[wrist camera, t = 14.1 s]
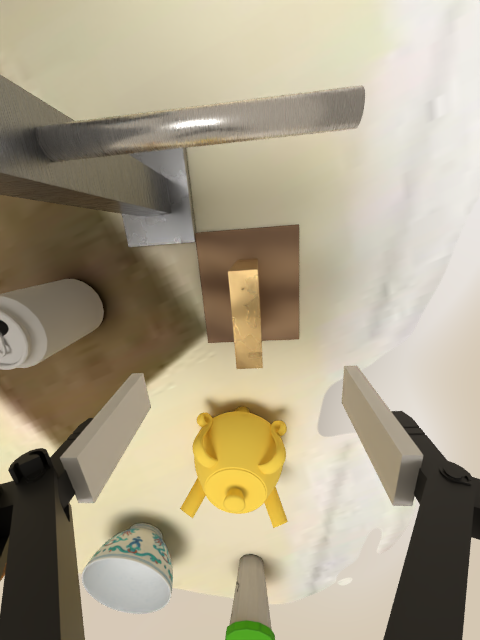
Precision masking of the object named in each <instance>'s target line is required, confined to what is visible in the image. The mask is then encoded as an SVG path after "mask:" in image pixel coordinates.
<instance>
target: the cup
mask: <svg viewBox="0 0 480 640" xmlns="http://www.w3.org/2000/svg"><path fill="white" fill-rule="evenodd" d="M225 640H275V635H274V633H273V632H272V630H271V622H270V614H269V606H268V597H267V589H266V581H265V573H264V565H263V561H262V559H261V558H260V557H258V556H256V555H251V554H249V555H244V556H243V557H242V558H240V564H239V570H238V576H237V582H236V589H235V595H234V601H233V608H232V614H231V620H230V625H229V626H228V627H227V631H226V639H225Z"/></svg>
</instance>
